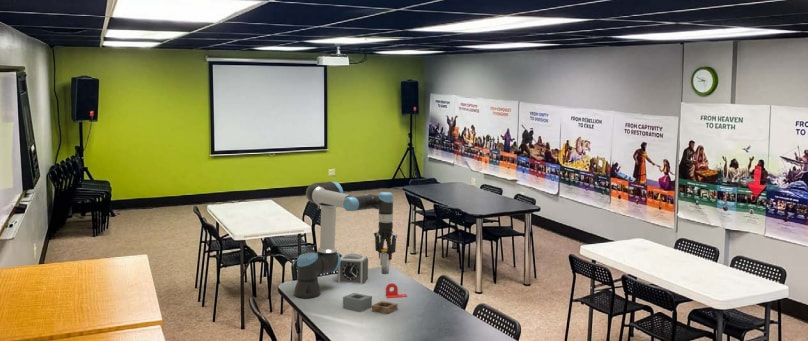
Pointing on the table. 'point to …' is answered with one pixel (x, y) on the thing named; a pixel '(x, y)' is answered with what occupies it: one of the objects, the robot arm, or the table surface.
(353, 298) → the block
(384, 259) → the pin
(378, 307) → the frame
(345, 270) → the alarm clock
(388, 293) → the bracket
